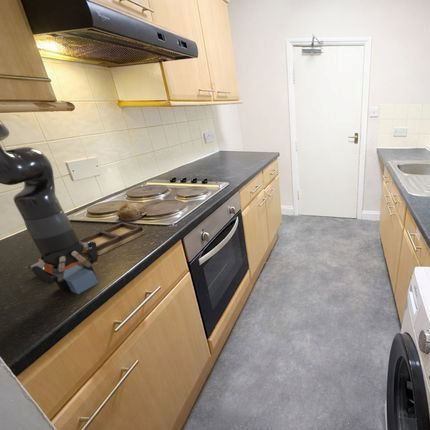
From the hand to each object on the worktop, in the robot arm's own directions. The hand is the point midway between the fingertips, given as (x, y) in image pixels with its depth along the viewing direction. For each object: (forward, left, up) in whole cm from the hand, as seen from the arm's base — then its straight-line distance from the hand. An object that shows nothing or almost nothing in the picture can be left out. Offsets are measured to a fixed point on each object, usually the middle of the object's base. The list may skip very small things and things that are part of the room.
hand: (79, 283), depth 73 cm
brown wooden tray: (+19, +18, 0) cm, 26 cm away
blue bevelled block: (0, 0, 0) cm, 0 cm away
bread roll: (+35, +31, -1) cm, 47 cm away
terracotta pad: (+2, +14, 0) cm, 14 cm away
